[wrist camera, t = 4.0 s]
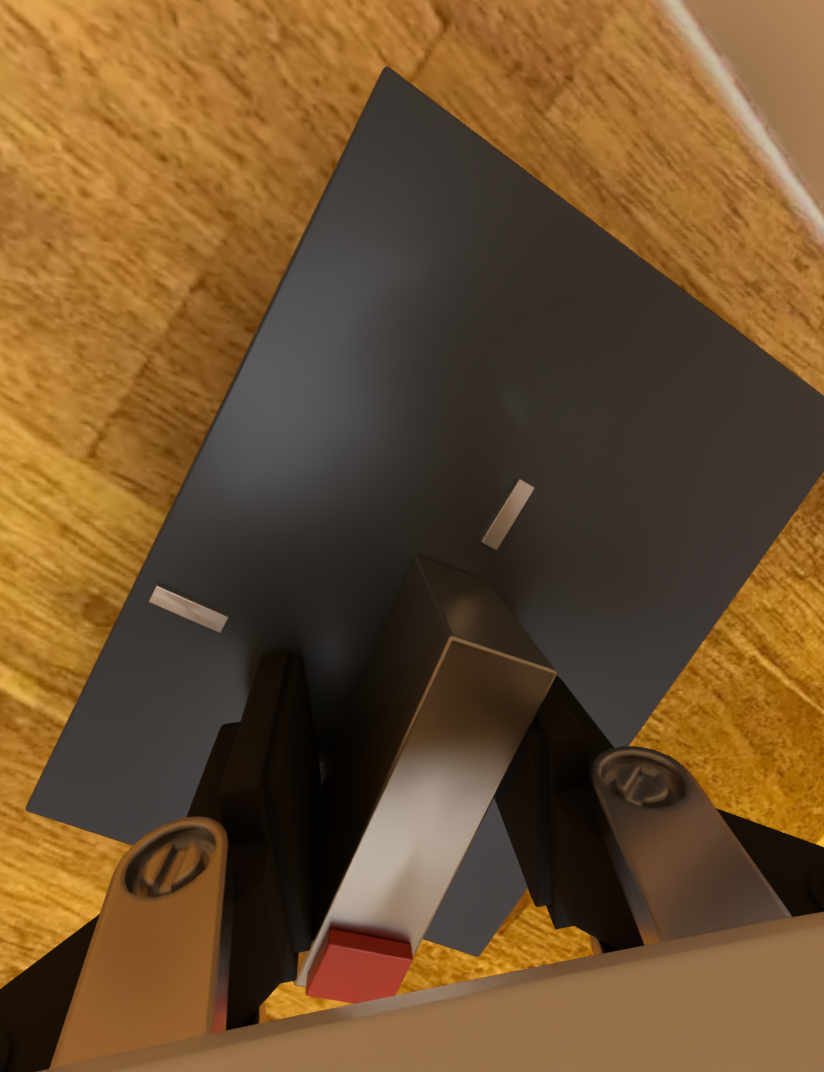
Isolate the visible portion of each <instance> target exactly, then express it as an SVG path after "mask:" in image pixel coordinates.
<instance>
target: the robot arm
mask: <svg viewBox="0 0 824 1072" xmlns="http://www.w3.org/2000/svg"><path fill="white" fill-rule="evenodd" d="M320 794H321V773H320V764H319V758H318V751H317V745H316V739H315V733H314V726H313V720H312V714H311V707H310V701H309V695H308V688H307V682H306V676H305V669H304V663H303V658H302V656H301V655H298V656H293V655H292V652H291V650H283V651H275V652H268V653H263V654H262V656H261V659H260V662H259V665H258V668H257V671H256V674H255V677H254V681H253V684H252V687H251V690H250V693H249V696H248V699H247V702H246V705H245V709H244V712H243V715H242V718H241V721H240V722H233V723H227V724H223V725H222V726H221V728H220V729H219V732H218V734H217V737H216V740H215V742H214V745H213V748H212V750H211V753H210V756H209V758H208V761H207V763H206V766H205V769H204V771H203V774H202V777H201V779H200V782H199V785H198V787H197V790H196V793H195V795H194V798H193V801H192V803H191V806H190V809H189V811H188V814H187V817H186V818H181V819H178V820H175V821H172V822H169V823H166V824H164V825H162V826H160V827H158V828H156V829H155V830H153V831H151V832H149V833H148V834H146V835H145V836H144V837H142V838H141V839H140V840H139V841H137V842H136V843H135V844H134V845H133V846H131V848H130V849H129V850H128V851H127V852H126V854H125V855H124V856H123V857H122V858H121V859H120V861H119V863H118V865H117V867H116V869H115V871H114V873H113V875H112V878H111V881H110V884H109V887H108V890H107V894H106V897H105V900H104V903H103V906H102V909H101V912H100V914H99V915H98V916H96V917H95V918H94V919H92V920H91V921H90V922H88V923H87V924H86V925H84V926H83V927H82V928H80V929H79V930H78V931H77V932H75V933H74V934H73V935H71V936H70V937H69V938H67V939H66V940H65V941H63V942H62V943H61V944H59V945H58V946H57V947H55V948H54V949H53V950H51V951H50V952H49V953H47V954H46V955H45V956H43V957H42V958H41V959H40V960H38V961H37V962H36V963H34V964H33V965H32V966H30V967H29V968H28V969H26V970H25V971H24V972H22V973H21V974H20V975H18V976H17V977H16V978H14V979H13V980H12V981H10V982H9V983H8V984H7V985H5V986H4V987H3V988H1V989H0V1072H824V847H821V846H819V845H816V844H813V843H810V842H808V841H805V840H802V839H799V838H797V837H794V836H791V835H788V834H786V833H783V832H780V831H777V830H775V829H772V828H769V827H766V826H764V825H761V824H758V823H755V822H753V821H750V820H747V819H744V818H741V817H739V816H736V815H733V814H730V813H728V812H725V811H722V810H719V809H717V808H715V807H714V805H713V804H712V802H711V801H710V799H709V798H708V797H707V795H706V794H705V792H704V791H703V790H702V788H701V787H700V785H699V784H698V783H697V781H696V780H695V778H694V777H693V775H692V774H691V773H690V772H689V771H688V770H687V769H686V768H685V767H684V766H683V765H682V764H680V763H679V762H677V761H676V760H674V759H673V758H671V757H670V756H667V755H665V754H663V753H660V752H658V751H655V750H652V749H647V748H642V747H633V746H622V747H616V748H614V746H613V745H612V744H611V743H610V741H609V740H608V739H607V737H606V736H605V735H604V733H603V732H602V731H601V730H600V728H599V727H598V726H597V724H596V723H595V722H594V721H593V719H592V718H591V717H590V715H589V714H588V713H587V711H586V710H585V709H584V708H583V706H582V705H581V704H580V702H579V701H578V700H577V698H576V697H575V696H574V695H573V693H572V692H571V691H570V689H569V688H568V687H567V686H566V684H565V683H564V682H563V680H562V679H561V678H560V677H559V676H557V675H556V676H555V678H554V680H553V682H552V684H551V686H550V688H549V690H548V692H547V694H546V696H545V698H544V700H543V702H542V704H541V706H540V708H539V710H538V712H537V714H536V716H535V718H534V720H533V722H532V724H531V726H530V728H529V730H528V732H527V734H526V736H525V738H524V740H523V742H522V744H521V746H520V748H519V750H518V751H517V753H516V755H515V757H514V759H513V761H512V763H511V765H510V767H509V769H508V771H507V773H506V775H505V777H504V779H503V781H502V783H501V785H500V787H499V789H498V791H497V793H496V795H495V797H494V799H495V801H496V804H497V807H498V809H499V812H500V815H501V817H502V820H503V823H504V825H505V828H506V831H507V833H508V836H509V839H510V841H511V844H512V847H513V849H514V852H515V855H516V857H517V860H518V863H519V865H520V868H521V871H522V873H523V876H524V879H525V881H526V884H527V887H528V889H529V892H530V895H531V897H532V900H533V902H534V904H535V906H536V907H540V906H546V907H547V909H548V912H549V915H550V917H551V920H552V922H553V925H554V927H555V929H560V928H565V927H570V926H576V927H577V928H579V929H581V930H583V931H585V932H586V933H588V934H590V941H591V948H592V951H593V954H594V956H589V957H584V958H578V959H573V960H568V961H563V962H559V963H554V964H549V965H544V966H539V967H534V968H529V969H524V970H519V971H514V972H509V973H504V974H499V975H494V976H489V977H484V978H479V979H474V980H469V981H464V982H459V983H454V984H449V985H445V986H440V987H435V988H430V989H425V990H420V991H415V992H410V993H405V994H400V995H396V996H391V997H386V998H381V999H376V1000H371V1001H366V1002H361V1003H356V1004H351V1005H347V1006H342V1007H337V1008H332V1009H327V1010H322V1011H317V1012H313V1013H308V1014H303V1015H298V1016H294V1017H289V1018H284V1019H279V1020H275V1021H270V1022H266V1011H265V1005H264V1001H265V1000H266V999H267V998H268V997H269V995H270V994H271V993H272V992H273V991H274V990H275V989H276V988H277V986H278V985H279V984H280V983H285V982H290V981H295V980H297V969H298V957H299V953H300V952H305V951H310V949H311V942H312V926H313V909H314V893H315V876H316V860H317V843H318V827H319V810H320Z"/></svg>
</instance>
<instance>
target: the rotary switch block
mask: <svg viewBox="0 0 824 1072" xmlns="http://www.w3.org/2000/svg"><path fill="white" fill-rule="evenodd" d="M823 472H824V395H822V394H821V393H820V392H818V391H817V390H816V389H814V388H813V387H812V386H810V385H809V384H808V383H806V382H805V381H804V380H802V379H801V378H800V377H798V376H797V375H796V374H794V373H793V372H792V371H790V370H789V369H788V368H786V367H785V366H784V365H782V364H781V363H780V362H779V361H777V360H776V359H775V358H773V357H772V356H771V355H769V354H768V353H767V352H765V351H764V350H763V349H761V348H760V347H759V346H757V345H756V344H755V343H753V342H752V341H751V340H749V339H748V338H747V337H745V336H744V335H743V334H741V333H740V332H739V331H737V330H736V329H735V328H734V327H732V326H731V325H730V324H728V323H727V322H726V321H724V320H723V319H722V318H720V317H719V316H718V315H716V314H715V313H714V312H712V311H711V310H710V309H708V308H707V307H706V306H704V305H703V304H702V303H700V302H699V301H698V300H696V299H695V298H694V297H692V296H691V295H690V294H689V293H687V292H686V291H685V290H683V289H682V288H681V287H679V286H678V285H677V284H675V283H674V282H673V281H671V280H670V279H669V278H667V277H666V276H665V275H663V274H662V273H661V272H659V271H658V270H657V269H655V268H654V267H653V266H651V265H650V264H649V263H647V262H646V261H645V260H644V259H642V258H641V257H640V256H638V255H637V254H636V253H634V252H633V251H632V250H630V249H629V248H628V247H626V246H625V245H624V244H622V243H621V242H620V241H618V240H617V239H616V238H614V237H613V236H612V235H610V234H609V233H608V232H606V231H605V230H604V229H602V228H601V227H600V226H598V225H597V224H596V223H595V222H593V221H592V220H591V219H589V218H588V217H587V216H585V215H584V214H583V213H581V212H580V211H579V210H577V209H576V208H575V207H573V206H572V205H571V204H569V203H568V202H567V201H565V200H564V199H563V198H561V197H560V196H559V195H557V194H556V193H555V192H553V191H552V190H551V189H550V188H548V187H547V186H546V185H544V184H543V183H542V182H540V181H539V180H538V179H536V178H535V177H534V176H532V175H531V174H530V173H528V172H527V171H526V170H524V169H523V168H522V167H520V166H519V165H518V164H516V163H515V162H514V161H512V160H511V159H510V158H508V157H507V156H506V155H505V154H503V153H502V152H501V151H499V150H498V149H497V148H495V147H494V146H493V145H491V144H490V143H489V142H487V141H486V140H485V139H483V138H482V137H481V136H479V135H478V134H477V133H475V132H474V131H473V130H471V129H470V128H469V127H467V126H466V125H465V124H463V123H462V122H461V121H460V120H458V119H457V118H456V117H454V116H453V115H452V114H450V113H449V112H448V111H446V110H445V109H444V108H442V107H441V106H440V105H438V104H437V103H436V102H434V101H433V100H432V99H430V98H429V97H428V96H426V95H425V94H424V93H422V92H421V91H420V90H418V89H417V88H416V87H415V86H413V85H412V84H411V83H409V82H408V81H407V80H405V79H404V78H403V77H401V76H400V75H399V74H397V73H396V72H395V71H393V70H392V69H391V68H389V67H387V66H386V67H385V68H384V69H383V70H382V72H381V74H380V76H379V78H378V80H377V82H376V84H375V86H374V88H373V90H372V92H371V94H370V96H369V99H368V101H367V103H366V105H365V107H364V109H363V111H362V113H361V115H360V117H359V119H358V121H357V123H356V125H355V127H354V130H353V132H352V134H351V136H350V138H349V140H348V142H347V144H346V146H345V148H344V150H343V152H342V154H341V156H340V158H339V161H338V163H337V165H336V167H335V169H334V171H333V173H332V175H331V177H330V179H329V181H328V183H327V185H326V187H325V189H324V192H323V194H322V196H321V198H320V200H319V202H318V204H317V206H316V208H315V210H314V212H313V214H312V216H311V218H310V220H309V223H308V225H307V227H306V229H305V231H304V233H303V235H302V237H301V239H300V241H299V243H298V245H297V247H296V249H295V251H294V253H293V256H292V258H291V260H290V262H289V264H288V266H287V268H286V270H285V272H284V274H283V276H282V278H281V280H280V282H279V284H278V287H277V289H276V291H275V293H274V295H273V297H272V299H271V301H270V303H269V305H268V307H267V309H266V311H265V313H264V315H263V318H262V320H261V322H260V324H259V326H258V328H257V330H256V332H255V334H254V336H253V338H252V340H251V342H250V344H249V346H248V349H247V351H246V353H245V355H244V357H243V359H242V361H241V363H240V365H239V367H238V369H237V371H236V373H235V375H234V377H233V380H232V382H231V384H230V386H229V388H228V390H227V392H226V394H225V396H224V398H223V400H222V402H221V404H220V406H219V408H218V411H217V413H216V415H215V417H214V419H213V421H212V423H211V425H210V427H209V429H208V431H207V433H206V435H205V437H204V439H203V442H202V444H201V446H200V448H199V450H198V452H197V454H196V456H195V458H194V460H193V462H192V464H191V466H190V468H189V470H188V473H187V475H186V477H185V479H184V481H183V483H182V485H181V487H180V489H179V491H178V493H177V495H176V497H175V499H174V501H173V504H172V506H171V508H170V510H169V512H168V514H167V516H166V518H165V520H164V522H163V524H162V526H161V528H160V530H159V532H158V535H157V537H156V539H155V541H154V543H153V545H152V547H151V549H150V551H149V553H148V555H147V557H146V559H145V561H144V563H143V566H142V568H141V570H140V572H139V574H138V576H137V578H136V580H135V582H134V584H133V586H132V588H131V590H130V592H129V594H128V597H127V599H126V601H125V603H124V605H123V607H122V609H121V611H120V613H119V615H118V617H117V619H116V621H115V623H114V625H113V628H112V630H111V632H110V634H109V636H108V638H107V640H106V642H105V644H104V646H103V648H102V650H101V652H100V654H99V656H98V659H97V661H96V663H95V665H94V667H93V669H92V671H91V673H90V675H89V677H88V679H87V681H86V683H85V685H84V687H83V690H82V692H81V694H80V696H79V698H78V700H77V702H76V704H75V706H74V708H73V710H72V712H71V714H70V716H69V718H68V721H67V723H66V725H65V727H64V729H63V731H62V733H61V735H60V737H59V739H58V741H57V743H56V745H55V747H54V749H53V751H52V754H51V756H50V758H49V760H48V762H47V764H46V766H45V768H44V770H43V772H42V774H41V776H40V778H39V780H38V782H37V785H36V787H35V789H34V791H33V793H32V795H31V797H30V799H29V801H28V803H27V805H26V811H28V812H31V813H34V814H37V815H40V816H43V817H46V818H49V819H52V820H56V821H59V822H62V823H65V824H68V825H71V826H74V827H77V828H80V829H83V830H86V831H90V832H93V833H96V834H99V835H102V836H105V837H108V838H111V839H114V840H117V841H121V842H124V843H127V844H130V845H134V844H135V843H136V842H137V841H139V840H140V839H141V838H142V837H144V836H145V835H146V834H148V833H149V832H151V831H153V830H155V829H156V828H158V827H160V826H162V825H164V824H166V823H169V822H172V821H175V820H178V819H181V818H186V817H187V814H188V811H189V809H190V806H191V803H192V801H193V798H194V795H195V793H196V790H197V787H198V785H199V782H200V779H201V777H202V774H203V771H204V769H205V766H206V763H207V761H208V758H209V756H210V753H211V750H212V748H213V745H214V742H215V740H216V737H217V734H218V732H219V729H220V728H221V726H222V725H223V724H227V723H233V722H240V721H241V718H242V715H243V712H244V709H245V705H246V702H247V699H248V696H249V693H250V690H251V687H252V684H253V681H254V677H255V674H256V671H257V668H258V665H259V662H260V659H261V656H262V654H263V653H268V652H275V651H283V650H291V652H292V655H293V656H298V655H301V656H302V658H303V663H304V669H305V676H306V682H307V688H308V695H309V701H310V707H311V714H312V720H313V726H314V733H315V739H316V745H317V751H318V758H319V764H320V773H321V776H322V773H323V771H324V769H325V766H326V764H327V762H328V759H329V757H330V755H331V752H332V750H333V747H334V745H335V743H336V740H337V738H338V736H339V733H340V731H341V729H342V726H343V724H344V722H345V719H346V717H347V714H348V712H349V710H350V707H351V705H352V703H353V700H354V698H355V696H356V693H357V691H358V689H359V686H360V684H361V682H362V679H363V677H364V674H365V672H366V670H367V667H368V665H369V663H370V660H371V658H372V656H373V653H374V651H375V649H376V646H377V644H378V641H379V639H380V637H381V634H382V632H383V630H384V627H385V625H386V623H387V620H388V618H389V616H390V613H391V611H392V608H393V606H394V604H395V601H396V599H397V597H398V594H399V592H400V590H401V587H402V585H403V583H404V580H405V578H406V575H407V573H408V571H409V568H410V566H411V564H412V561H413V559H414V557H415V556H420V557H422V558H425V559H428V560H431V561H433V562H436V563H439V564H442V565H444V566H447V567H450V568H453V569H455V570H458V571H461V572H464V573H466V574H469V575H472V576H474V577H477V578H480V579H483V580H485V581H487V582H488V583H489V584H490V585H491V587H492V588H493V589H494V590H495V592H496V593H497V594H498V596H499V597H500V598H501V600H502V601H503V602H504V603H505V605H506V606H507V607H508V609H509V610H510V611H511V613H512V614H513V615H514V616H515V618H516V619H517V620H518V622H519V623H520V624H521V625H522V627H523V628H524V629H525V631H526V632H527V633H528V635H529V636H530V637H531V638H532V640H533V641H534V642H535V644H536V645H537V646H538V648H539V649H540V650H541V651H542V653H543V654H544V655H545V657H546V658H547V659H548V661H549V662H550V663H551V664H552V666H553V667H554V668H555V670H556V671H557V674H556V675H557V676H559V677H560V678H561V679H562V680H563V682H564V683H565V684H566V686H567V687H568V688H569V689H570V691H571V692H572V693H573V695H574V696H575V697H576V698H577V700H578V701H579V702H580V704H581V705H582V706H583V708H584V709H585V710H586V711H587V713H588V714H589V715H590V717H591V718H592V719H593V721H594V722H595V723H596V724H597V726H598V727H599V728H600V730H601V731H602V732H603V733H604V735H605V736H606V737H607V739H608V740H609V741H610V743H611V744H612V745H613V746H614V748H616V747H622V746H629V745H630V743H631V742H632V741H633V739H634V738H635V736H636V735H637V734H638V732H639V731H640V729H641V728H642V727H643V725H644V724H645V722H646V721H647V720H648V718H649V717H650V715H651V714H652V713H653V711H654V710H655V708H656V707H657V705H658V704H659V703H660V701H661V700H662V698H663V697H664V696H665V694H666V693H667V691H668V690H669V689H670V687H671V686H672V684H673V683H674V682H675V680H676V679H677V677H678V676H679V675H680V673H681V672H682V670H683V669H684V668H685V666H686V665H687V663H688V662H689V660H690V659H691V658H692V656H693V655H694V653H695V652H696V651H697V649H698V648H699V646H700V645H701V644H702V642H703V641H704V639H705V638H706V637H707V635H708V634H709V632H710V631H711V630H712V628H713V627H714V625H715V624H716V623H717V621H718V620H719V618H720V617H721V615H722V614H723V613H724V611H725V610H726V608H727V607H728V606H729V604H730V603H731V601H732V600H733V599H734V597H735V596H736V594H737V593H738V592H739V590H740V589H741V587H742V586H743V585H744V583H745V582H746V580H747V579H748V578H749V576H750V575H751V573H752V572H753V571H754V569H755V568H756V566H757V565H758V563H759V562H760V561H761V559H762V558H763V556H764V555H765V554H766V552H767V551H768V549H769V548H770V547H771V545H772V544H773V542H774V541H775V540H776V538H777V537H778V535H779V534H780V533H781V531H782V530H783V528H784V527H785V526H786V524H787V523H788V521H789V520H790V518H791V517H792V516H793V514H794V513H795V511H796V510H797V509H798V507H799V506H800V504H801V503H802V502H803V500H804V499H805V497H806V496H807V495H808V493H809V492H810V490H811V489H812V488H813V486H814V485H815V483H816V482H817V481H818V479H819V478H820V476H821V475H822V473H823ZM527 888H528V887H527V884H526V881H525V879H524V876H523V873H522V871H521V868H520V865H519V863H518V860H517V857H516V855H515V852H514V849H513V847H512V844H511V841H510V839H509V836H508V833H507V831H506V828H505V825H504V823H503V820H502V817H501V815H500V812H499V809H498V807H497V804H496V801H495V799H493V801H492V803H491V805H490V807H489V809H488V811H487V813H486V815H485V817H484V819H483V821H482V823H481V825H480V827H479V828H478V830H477V832H476V834H475V836H474V838H473V840H472V842H471V844H470V846H469V848H468V850H467V852H466V854H465V856H464V858H463V860H462V862H461V864H460V866H459V868H458V870H457V872H456V874H455V876H454V878H453V880H452V882H451V884H450V886H449V888H448V890H447V892H446V894H445V896H444V898H443V900H442V902H441V904H440V905H439V907H438V909H437V911H436V913H435V915H434V917H433V919H432V921H431V923H430V925H429V927H428V929H427V931H426V933H425V935H424V937H423V939H424V940H427V941H430V942H433V943H436V944H440V945H443V946H446V947H449V948H452V949H455V950H458V951H461V952H464V953H467V954H470V955H474V956H480V954H481V953H482V952H483V950H484V949H485V947H486V946H487V945H488V943H489V942H490V940H491V939H492V938H493V936H494V935H495V933H496V932H497V930H498V929H499V928H500V926H501V925H502V923H503V922H504V921H505V919H506V918H507V916H508V915H509V914H510V912H511V911H512V909H513V908H514V907H515V905H516V904H517V902H518V901H519V900H520V898H521V897H522V895H523V894H524V893H525V891H526V890H527Z"/></svg>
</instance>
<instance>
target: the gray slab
mask: <svg viewBox="0 0 824 1072" xmlns="http://www.w3.org/2000/svg"><path fill="white" fill-rule="evenodd" d="M556 674H557V671H556V670H555V668H554V667H553V666H552V664H551V663H550V662H549V661H548V659H547V658H546V657H545V655H544V654H543V653H542V651H541V650H540V649H539V648H538V646H537V645H536V644H535V642H534V641H533V640H532V638H531V637H530V636H529V635H528V633H527V632H526V631H525V629H524V628H523V627H522V625H521V624H520V623H519V622H518V620H517V619H516V618H515V616H514V615H513V614H512V613H511V611H510V610H509V609H508V607H507V606H506V605H505V603H504V602H503V601H502V600H501V598H500V597H499V596H498V594H497V593H496V592H495V590H494V589H493V588H492V587H491V585H490V584H489V583H488V582H487V581H485V580H483V579H480V578H477V577H474V576H472V575H469V574H466V573H464V572H461V571H458V570H455V569H453V568H450V567H447V566H444V565H442V564H439V563H436V562H433V561H431V560H428V559H425V558H422V557H420V556H415V557H414V559H413V561H412V564H411V566H410V568H409V571H408V573H407V575H406V578H405V580H404V583H403V585H402V587H401V590H400V592H399V594H398V597H397V599H396V601H395V604H394V606H393V608H392V611H391V613H390V616H389V618H388V620H387V623H386V625H385V627H384V630H383V632H382V634H381V637H380V639H379V641H378V644H377V646H376V649H375V651H374V653H373V656H372V658H371V660H370V663H369V665H368V667H367V670H366V672H365V674H364V677H363V679H362V682H361V684H360V686H359V689H358V691H357V693H356V696H355V698H354V700H353V703H352V705H351V707H350V710H349V712H348V714H347V717H346V719H345V722H344V724H343V726H342V729H341V731H340V733H339V736H338V738H337V740H336V743H335V745H334V747H333V750H332V752H331V755H330V757H329V759H328V762H327V764H326V766H325V769H324V771H323V773H322V776H321V794H320V810H319V827H318V843H317V860H316V876H315V893H314V909H313V926H312V942H311V949H310V951H305V952H300V953H299V957H298V969H297V980H295V981H293V982H294V985H296V986H301V987H306V995H307V996H312V997H318V998H324V999H330V1000H336V1001H342V1002H348V1003H354V1004H356V1003H361V1002H366V1001H371V1000H376V999H381V998H386V997H391V996H395V995H396V993H397V991H398V989H399V987H400V985H401V983H402V981H403V979H404V977H405V975H406V973H407V971H408V969H409V967H410V965H411V963H412V961H413V957H414V955H415V953H416V951H417V949H418V947H419V945H420V943H421V941H422V939H423V937H424V935H425V933H426V931H427V929H428V927H429V925H430V923H431V921H432V919H433V917H434V915H435V913H436V911H437V909H438V907H439V905H440V904H441V902H442V900H443V898H444V896H445V894H446V892H447V890H448V888H449V886H450V884H451V882H452V880H453V878H454V876H455V874H456V872H457V870H458V868H459V866H460V864H461V862H462V860H463V858H464V856H465V854H466V852H467V850H468V848H469V846H470V844H471V842H472V840H473V838H474V836H475V834H476V832H477V830H478V828H479V827H480V825H481V823H482V821H483V819H484V817H485V815H486V813H487V811H488V809H489V807H490V805H491V803H492V801H493V799H494V797H495V795H496V793H497V791H498V789H499V787H500V785H501V783H502V781H503V779H504V777H505V775H506V773H507V771H508V769H509V767H510V765H511V763H512V761H513V759H514V757H515V755H516V753H517V751H518V750H519V748H520V746H521V744H522V742H523V740H524V738H525V736H526V734H527V732H528V730H529V728H530V726H531V724H532V722H533V720H534V718H535V716H536V714H537V712H538V710H539V708H540V706H541V704H542V702H543V700H544V698H545V696H546V694H547V692H548V690H549V688H550V686H551V684H552V682H553V680H554V678H555V676H556Z"/></svg>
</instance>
